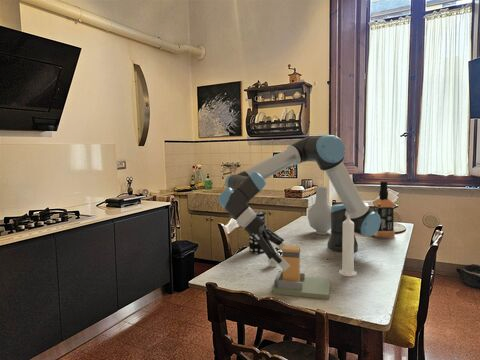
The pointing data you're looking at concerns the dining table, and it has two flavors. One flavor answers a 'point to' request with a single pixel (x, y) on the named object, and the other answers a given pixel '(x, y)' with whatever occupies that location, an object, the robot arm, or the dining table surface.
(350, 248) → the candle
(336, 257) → the dining table surface
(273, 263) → the valve
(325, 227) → the vase
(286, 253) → the orange box
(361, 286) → the dining table surface
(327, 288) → the mounting board
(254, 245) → the white-spotted black cylinder
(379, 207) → the whiskey bottle
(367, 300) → the dining table surface
